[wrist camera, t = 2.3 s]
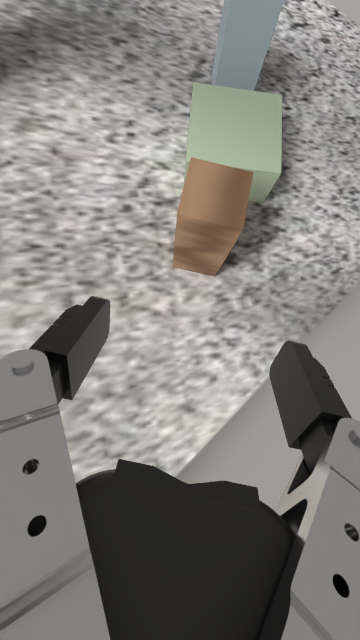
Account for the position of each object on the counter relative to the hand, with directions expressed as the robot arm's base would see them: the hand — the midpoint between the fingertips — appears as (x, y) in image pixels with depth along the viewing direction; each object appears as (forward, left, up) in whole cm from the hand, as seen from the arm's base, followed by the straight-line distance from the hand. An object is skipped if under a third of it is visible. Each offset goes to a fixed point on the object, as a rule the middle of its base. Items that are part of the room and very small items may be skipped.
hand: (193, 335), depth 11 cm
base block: (-18, +16, -15) cm, 29 cm away
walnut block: (-9, +8, -15) cm, 19 cm away
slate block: (-27, +22, -15) cm, 39 cm away
